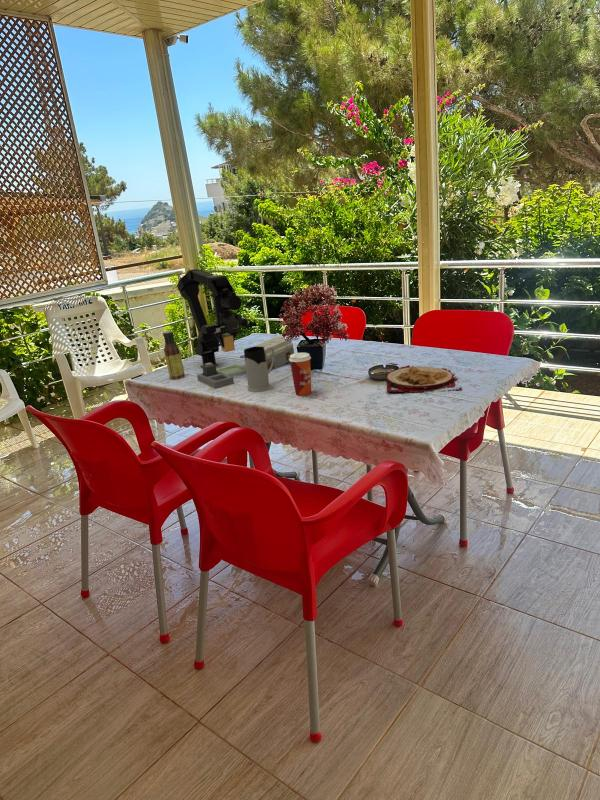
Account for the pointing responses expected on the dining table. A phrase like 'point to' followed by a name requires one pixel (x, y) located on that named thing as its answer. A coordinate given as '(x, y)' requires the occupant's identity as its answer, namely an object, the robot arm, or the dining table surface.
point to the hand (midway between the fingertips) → (227, 346)
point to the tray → (233, 370)
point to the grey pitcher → (257, 368)
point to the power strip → (216, 380)
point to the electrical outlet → (277, 351)
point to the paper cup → (301, 373)
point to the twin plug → (209, 369)
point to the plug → (228, 342)
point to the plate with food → (419, 379)
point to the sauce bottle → (173, 357)
